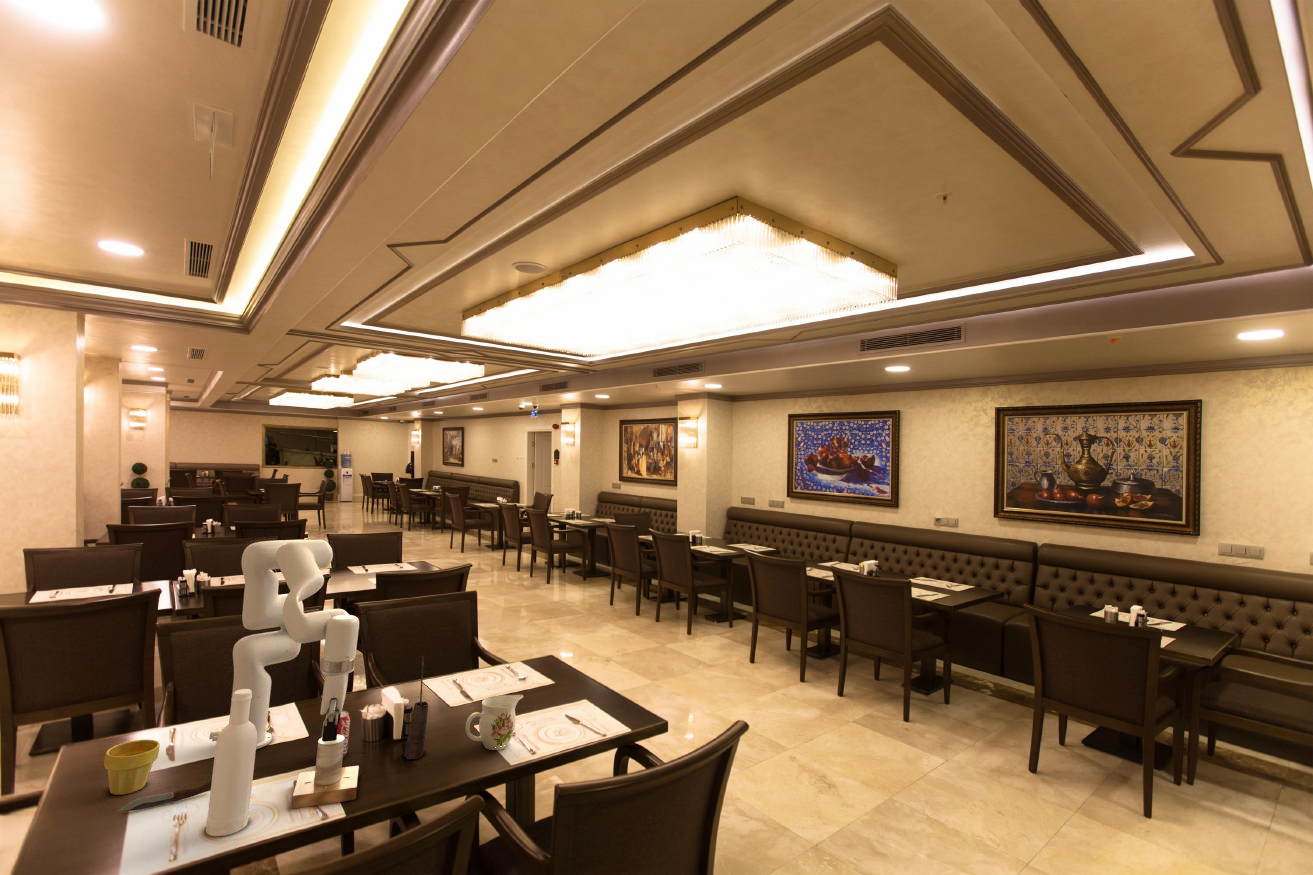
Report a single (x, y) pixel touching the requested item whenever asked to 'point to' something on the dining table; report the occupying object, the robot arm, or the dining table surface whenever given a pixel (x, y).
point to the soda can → (343, 729)
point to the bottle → (233, 770)
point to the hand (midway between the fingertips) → (331, 732)
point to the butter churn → (417, 727)
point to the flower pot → (130, 765)
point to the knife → (164, 798)
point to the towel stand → (325, 789)
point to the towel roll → (329, 761)
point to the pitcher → (495, 721)
